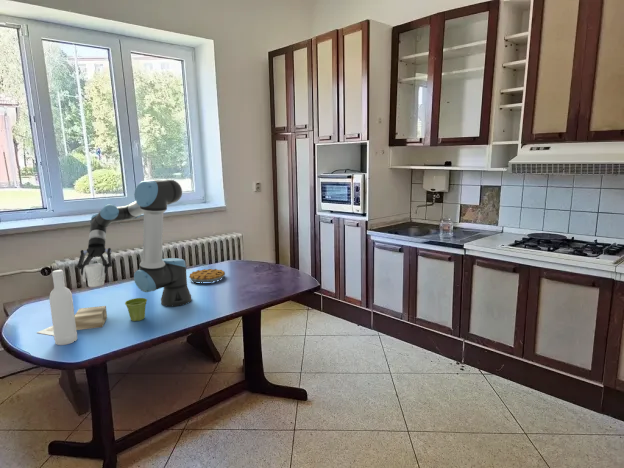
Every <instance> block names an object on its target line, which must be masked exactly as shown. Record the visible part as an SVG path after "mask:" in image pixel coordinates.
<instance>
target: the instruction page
mask: <svg viewBox="0 0 624 468" xmlns="http://www.w3.org/2000/svg"><path fill="white" fill-rule="evenodd" d="M36 334H39V335H40V334H41V335H45V336H51V335H52V336H51V337H53V336H54V330H53V325H50V326H49V327H46V328H44V329H41V330H39V331H36Z"/></svg>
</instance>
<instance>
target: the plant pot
mask: <svg viewBox="0 0 624 468" xmlns="http://www.w3.org/2000/svg"><path fill="white" fill-rule="evenodd" d="M147 301H148V299H147V298H146V297H145V298H143V297H136V298H131V299H128V300H126V301H125V303H124V305H125V306H126V308H127V311H128V314H129V318H130V321H132V322H137V321H144V319H145V317H146V305H147Z"/></svg>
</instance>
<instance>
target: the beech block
mask: <svg viewBox="0 0 624 468" xmlns="http://www.w3.org/2000/svg"><path fill="white" fill-rule="evenodd" d="M107 312H108V311H107V305H102V306H92V307H83V308H82V307H79V309H78V310H77V311H76V312H75V313H74V315H75V323H76V331H79V330H86V329H87V330H89V329H90V330H91V329H97V328H103V327H104V325H105V322H106V321H107V318H108V313H107Z"/></svg>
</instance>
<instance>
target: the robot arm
mask: <svg viewBox="0 0 624 468" xmlns="http://www.w3.org/2000/svg"><path fill="white" fill-rule="evenodd" d="M133 195H134V200H135V201H134V202H131V203H129V204H127V205H121V206H116V205H115V204H111V203H110V204H108V203H107V204H106V205H104V206H103V207H102V208H101V209H100V211H99V212H98V213H95V214H93V215H91V217H90V223H89V224H90V225H89V226H90V227H89V233H88V235H89V236H88V244H87V249H85V250H83V249H80V256H79V259H78V262H77V265H76V267H77V268H78V270H80V275H81V276H82V278H81V279H82V282H83V283H86V281H87V277H86V272H85V266H86V265H89V264H90V263H91V261H92V260H93V258H100V259H101V261H102V264H103V270H102V279H103V280H104V281H105V280H106V274H108V272H109V268H111V267H113V261H112V260H113V259H112V249H111V247H108V248H106V240H107V239H106V237H107V229H108V227H109V226H110V225H111V224H112V223H116V222H122V221H128V220H135V219H139V218H141V216H142V215H143V226H142V227H143V228H142V229H143V233H142V234H143V235H142V238H143V240H142V242H143V243H142V247H143V248H142V261H140V263H139V269H137V270H136V271H135V272H134V273H133V281H134V283H135V285H136V286H137V288H138V289H139V290H140V291H141V292H144V293H151V292H154V291H157V290H159V289H162V288H163V289H162V294H161V298H160V303H161V305H162V306H165V307H180V306H184V305H186V303H187V304H189V303H190V302H191V301H192V295H191V292H190V289H189V286H188V281H187V280H188V279H187V277H188V276H187V266H186V260H184V259H182V258H178V257H177V258H176V257H175V258H173V257H170V258H169V257H168V258H163V247H164V246H163V240H164V239H163V238H164V234H163V233H164V212H166V211H167V210H168V205H171V204H174V203H176V202H178V201H180V199H181V198H182V195H183V189H182V186H181V185H180V183H178V182H177V181H176V180H174V179H170V178H166V179H147V180H142V181H140V182H139V183H138V184H136V186H135V189H134V194H133ZM105 252H106V254H107V261H106V258H105V257H104V253H105ZM86 255H87V257H86ZM107 262H108V263H107ZM188 302H189V303H188ZM183 304H184V305H183ZM179 305H180V306H179Z"/></svg>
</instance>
